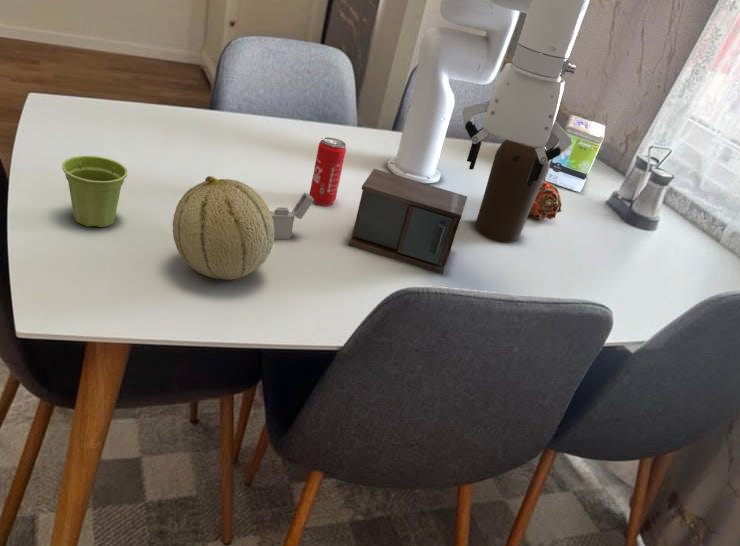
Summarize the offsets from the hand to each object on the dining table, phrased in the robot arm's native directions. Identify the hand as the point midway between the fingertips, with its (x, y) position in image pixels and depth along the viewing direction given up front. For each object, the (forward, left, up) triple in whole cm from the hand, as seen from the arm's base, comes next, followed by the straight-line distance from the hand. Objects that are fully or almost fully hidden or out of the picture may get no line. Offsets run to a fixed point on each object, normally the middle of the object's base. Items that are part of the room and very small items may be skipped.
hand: (500, 175), depth 112 cm
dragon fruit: (-47, 0, -21) cm, 51 cm away
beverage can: (-9, -34, -21) cm, 41 cm away
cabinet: (-5, -14, -20) cm, 25 cm away
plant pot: (+31, -53, -21) cm, 65 cm away
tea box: (-81, -1, -21) cm, 84 cm away
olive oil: (-29, -3, -21) cm, 36 cm away
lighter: (+10, -30, -21) cm, 38 cm away
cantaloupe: (+29, -30, -21) cm, 47 cm away
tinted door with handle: (+1, -9, -19) cm, 21 cm away
